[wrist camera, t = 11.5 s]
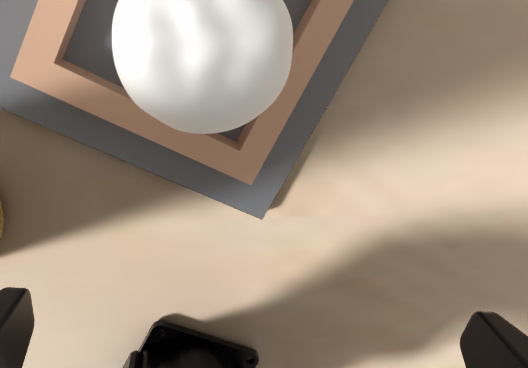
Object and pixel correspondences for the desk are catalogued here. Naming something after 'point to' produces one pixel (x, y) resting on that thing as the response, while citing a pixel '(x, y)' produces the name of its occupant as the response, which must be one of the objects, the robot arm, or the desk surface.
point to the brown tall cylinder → (1, 220)
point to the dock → (152, 130)
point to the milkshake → (202, 59)
